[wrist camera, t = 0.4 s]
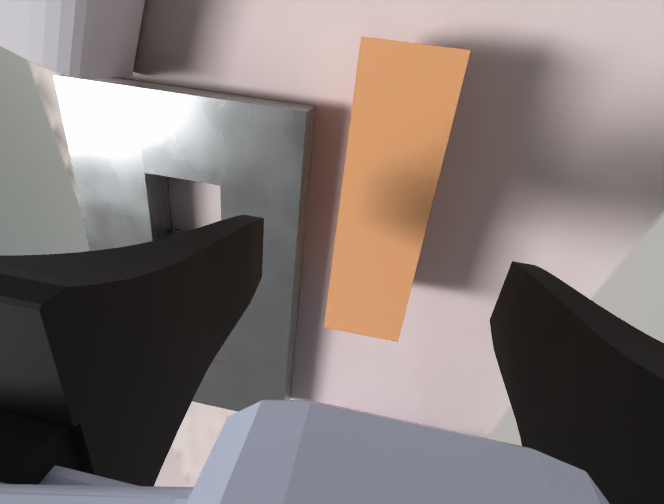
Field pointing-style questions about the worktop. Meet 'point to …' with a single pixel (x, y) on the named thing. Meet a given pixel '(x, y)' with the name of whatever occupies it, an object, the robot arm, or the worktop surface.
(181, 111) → the gray rectangular slab
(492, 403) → the worktop surface
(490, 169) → the worktop surface
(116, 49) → the charger
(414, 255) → the clip
